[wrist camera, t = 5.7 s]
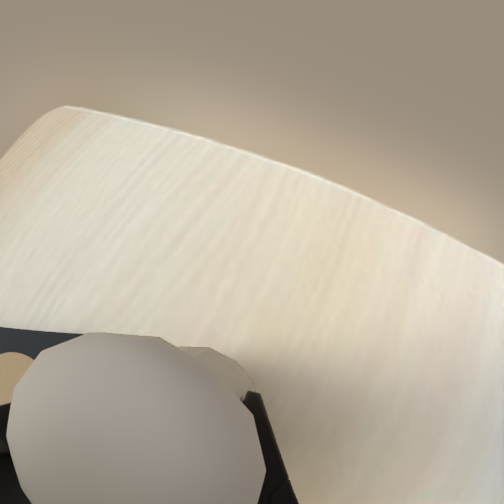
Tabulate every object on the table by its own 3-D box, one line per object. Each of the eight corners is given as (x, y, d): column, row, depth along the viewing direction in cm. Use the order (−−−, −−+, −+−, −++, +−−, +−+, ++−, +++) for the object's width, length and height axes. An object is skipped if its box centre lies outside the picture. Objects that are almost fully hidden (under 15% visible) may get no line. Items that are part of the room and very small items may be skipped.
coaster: (107, 512, 11) (104, 514, 11) (-21, 468, 10) (-25, 469, 10) (92, 335, 16) (88, 333, 15) (-29, 323, 15) (-33, 322, 14)
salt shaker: (128, 420, 14) (-65, 464, 2) (175, 331, 16) (45, 201, 4) (226, 471, 13) (218, 651, 1) (274, 381, 15) (405, 382, 3)
